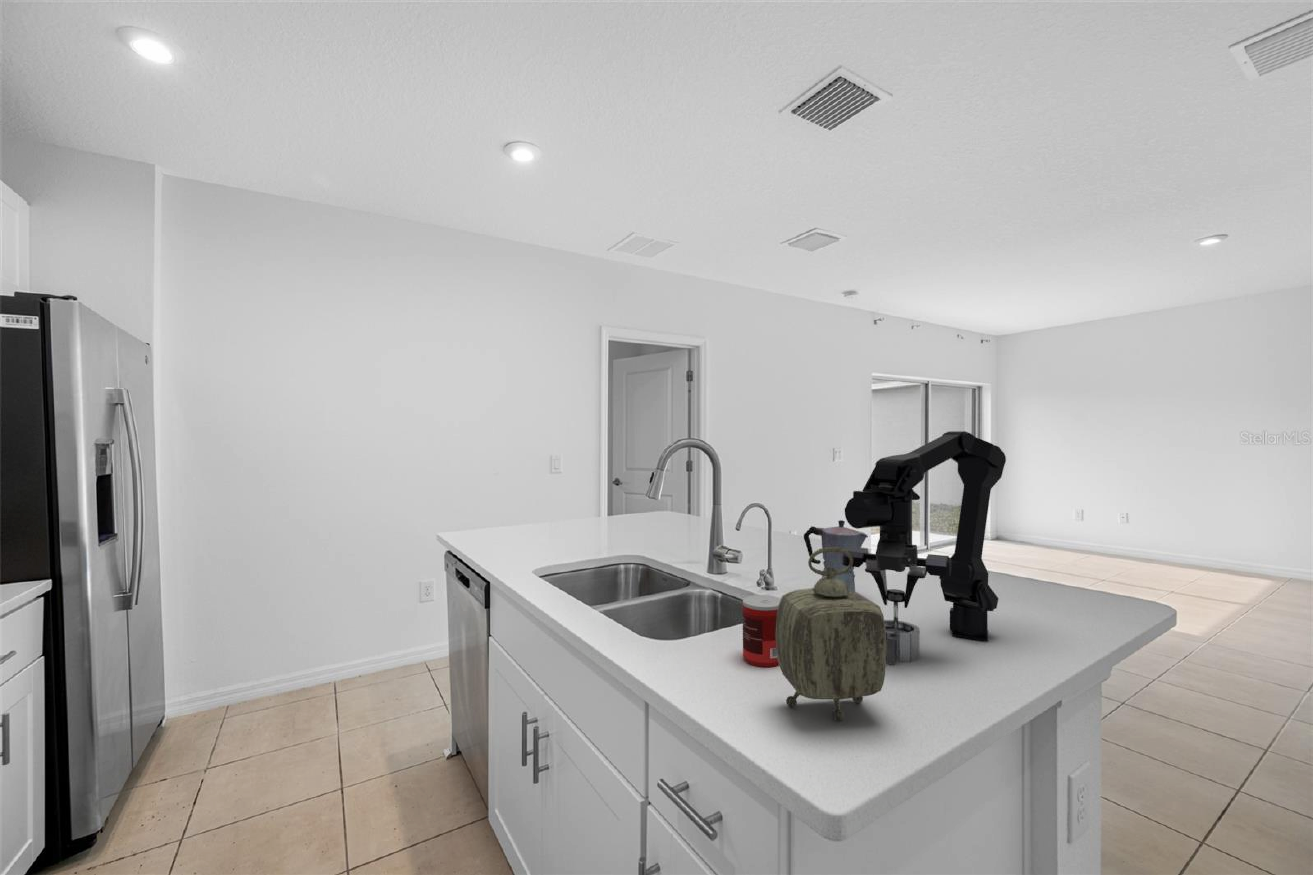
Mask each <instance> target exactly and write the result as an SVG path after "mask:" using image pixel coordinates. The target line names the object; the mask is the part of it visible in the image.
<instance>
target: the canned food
mask: <svg viewBox="0 0 1313 875" xmlns="http://www.w3.org/2000/svg"><path fill="white" fill-rule="evenodd" d="M781 598H782V597H781ZM781 598H780V597H778V596H775V595H768V594H755V595H748V596H745V597H744V598H743V599H742V655H743V660H744V661H745V662H746V663H747V664H750V665H752V666H754V667H758V668H759V667H760V668H772V667H773V668H774V667H776V666H779V663H778V658H777V648H776V621H777V612H778V607H779V603H780V600H781Z"/></svg>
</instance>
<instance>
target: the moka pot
mask: <svg viewBox="0 0 1313 875" xmlns="http://www.w3.org/2000/svg"><path fill="white" fill-rule="evenodd" d="M837 522H838V526H833V527H831V526H830V527H826V528H825V527H816V526H812V525H811V526H810V527H809V528H808V529H807V530H806V531H805V533H803V540H804V542H805V546H806V548H807V553H808V556H809V557H810V556H811V555H812V554H813V553H814V552H813V547H812V544H811V538H810V535H812V534H813V535H815V536H821V538H820V539H821V548H826V547H836V548H842V549H844V550H848V549H849V548H850V547H856V548H862V546H863V544H864V542H865V540H866V538H868V537H869V535H868V534H866V533H865V532H862V531H858V530H855V529H854V528H853V529H852V528H849V527H845V522H846V521H845V520H843V519H842V520H841V519H840V520H838V521H837ZM822 559H823V560H824V561H823V566H824V567H823V570H822V571H827V567H828V566H830V565H831V566H833V567H834V571H836V570H841V569H844V568H846V567H847V566H844V565H843V553H841V552H824V553H822ZM821 562H822V561H821V560H820V559H816V558H815V557H814V558H813V560H812V562H811V564H816V565H820V564H821ZM854 569H855V567H851V568H850V569H849V570H848V571H847V572H845V573H843V574H840V575H835V576H834V577H837V578H839V579H841V580H842V581H843V582H844V583H845V584H846V586H847V587H848V589H849V590H852V591H854V592H856V582H855V577H856V574H855V572H854ZM822 577H827V576H825V575H821V578H822Z"/></svg>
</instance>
